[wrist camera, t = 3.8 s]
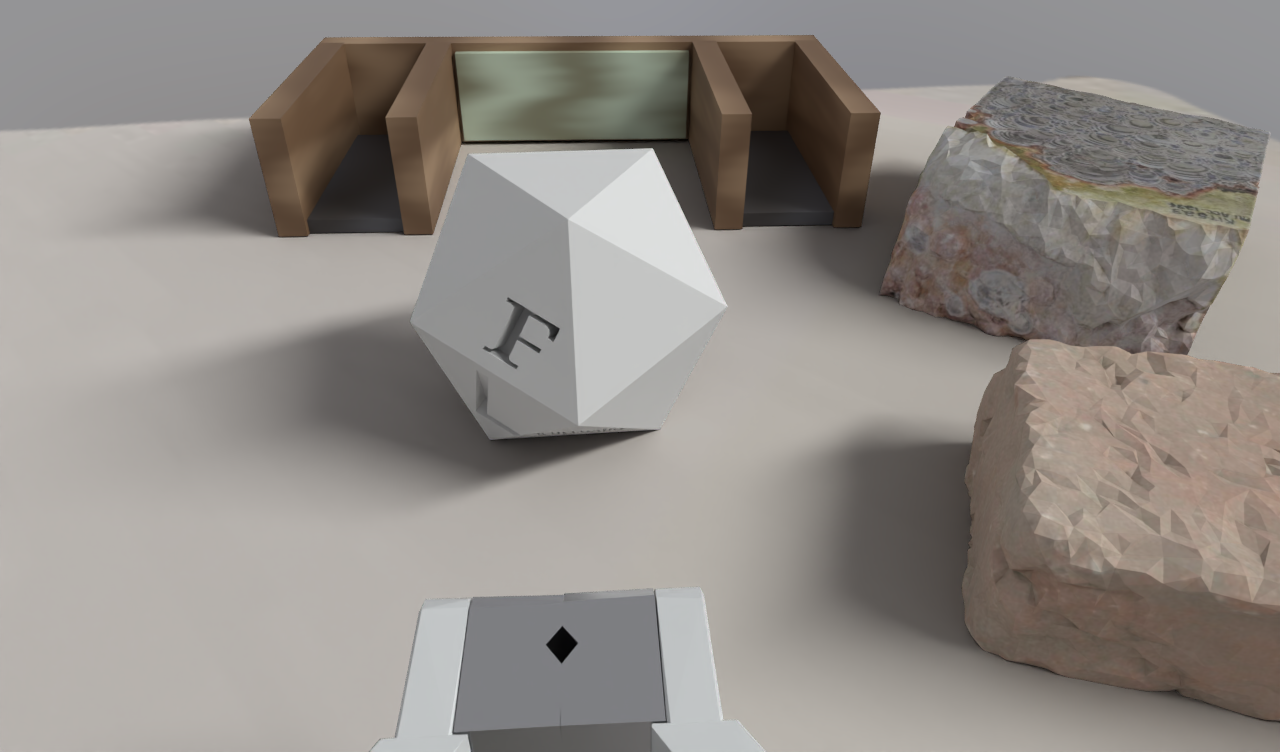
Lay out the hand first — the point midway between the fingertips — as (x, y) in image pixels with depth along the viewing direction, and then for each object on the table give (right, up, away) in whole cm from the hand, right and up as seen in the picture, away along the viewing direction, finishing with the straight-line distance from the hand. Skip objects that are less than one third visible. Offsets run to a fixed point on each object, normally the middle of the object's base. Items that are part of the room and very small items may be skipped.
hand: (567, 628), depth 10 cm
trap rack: (-2, +12, +32) cm, 34 cm away
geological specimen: (+18, +7, +26) cm, 33 cm away
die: (-1, +2, +18) cm, 18 cm away
